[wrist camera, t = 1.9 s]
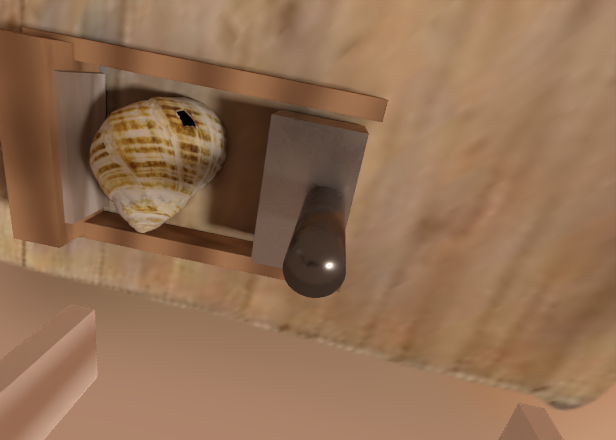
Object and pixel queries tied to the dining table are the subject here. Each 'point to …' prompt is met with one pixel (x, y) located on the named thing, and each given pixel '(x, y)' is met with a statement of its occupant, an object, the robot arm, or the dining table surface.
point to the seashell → (156, 157)
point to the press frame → (87, 121)
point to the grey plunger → (308, 199)
